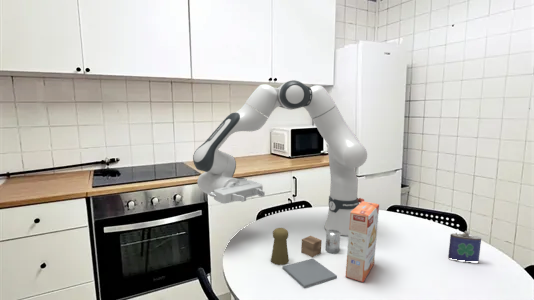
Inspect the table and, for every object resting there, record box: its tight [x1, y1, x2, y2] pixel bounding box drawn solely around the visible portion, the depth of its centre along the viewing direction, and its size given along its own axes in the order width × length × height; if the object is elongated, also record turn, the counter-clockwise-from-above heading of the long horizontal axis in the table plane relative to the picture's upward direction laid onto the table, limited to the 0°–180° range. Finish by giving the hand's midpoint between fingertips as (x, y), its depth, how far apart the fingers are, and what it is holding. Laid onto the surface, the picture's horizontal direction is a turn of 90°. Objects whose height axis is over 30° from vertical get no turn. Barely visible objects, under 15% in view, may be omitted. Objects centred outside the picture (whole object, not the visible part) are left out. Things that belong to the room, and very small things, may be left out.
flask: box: [447, 230, 482, 262], centre depth 104 cm, size 9×3×11 cm, turn 74°
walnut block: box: [301, 235, 323, 258], centre depth 108 cm, size 5×5×5 cm
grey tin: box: [324, 229, 341, 255], centre depth 110 cm, size 5×5×7 cm
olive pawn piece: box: [270, 227, 289, 266], centre depth 102 cm, size 6×6×11 cm
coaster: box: [282, 258, 338, 289], centre depth 95 cm, size 12×12×1 cm
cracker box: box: [345, 200, 380, 283], centre depth 96 cm, size 14×6×21 cm, turn 148°
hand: (254, 196), depth 108 cm, fingers open, 8 cm apart
